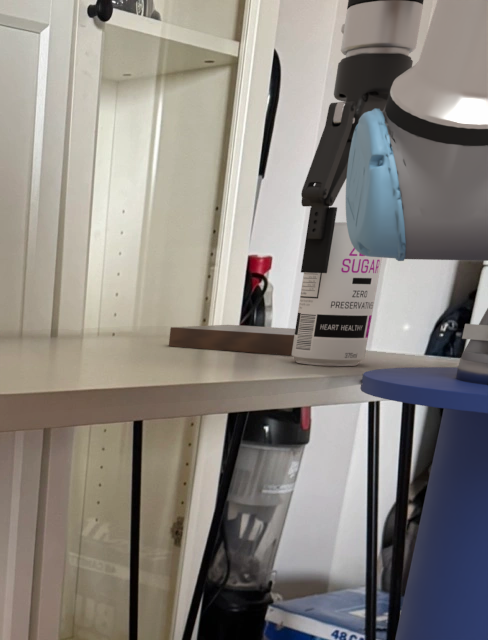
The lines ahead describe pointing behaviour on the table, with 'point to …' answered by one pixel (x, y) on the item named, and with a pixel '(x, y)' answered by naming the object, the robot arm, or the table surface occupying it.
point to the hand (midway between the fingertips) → (340, 273)
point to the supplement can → (337, 306)
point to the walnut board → (234, 338)
